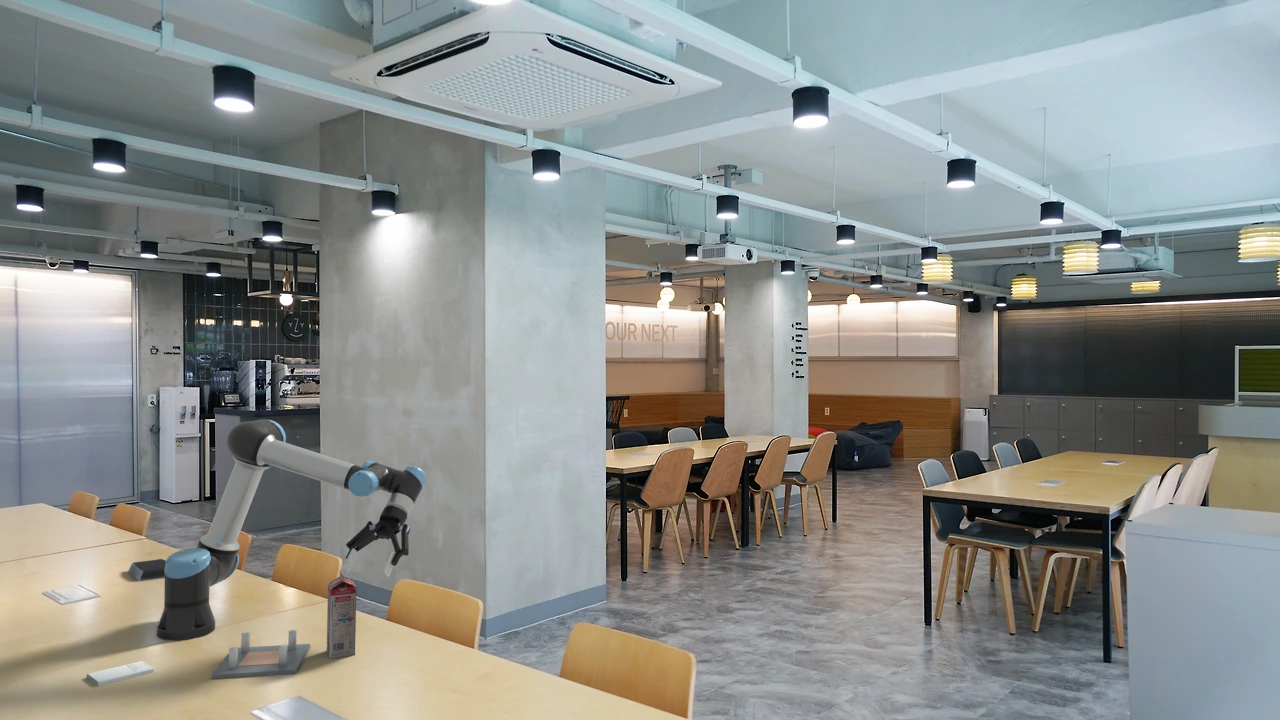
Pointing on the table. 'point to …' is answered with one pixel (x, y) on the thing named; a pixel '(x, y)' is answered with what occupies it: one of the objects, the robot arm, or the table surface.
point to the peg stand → (262, 659)
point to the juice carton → (341, 617)
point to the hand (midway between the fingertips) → (365, 572)
